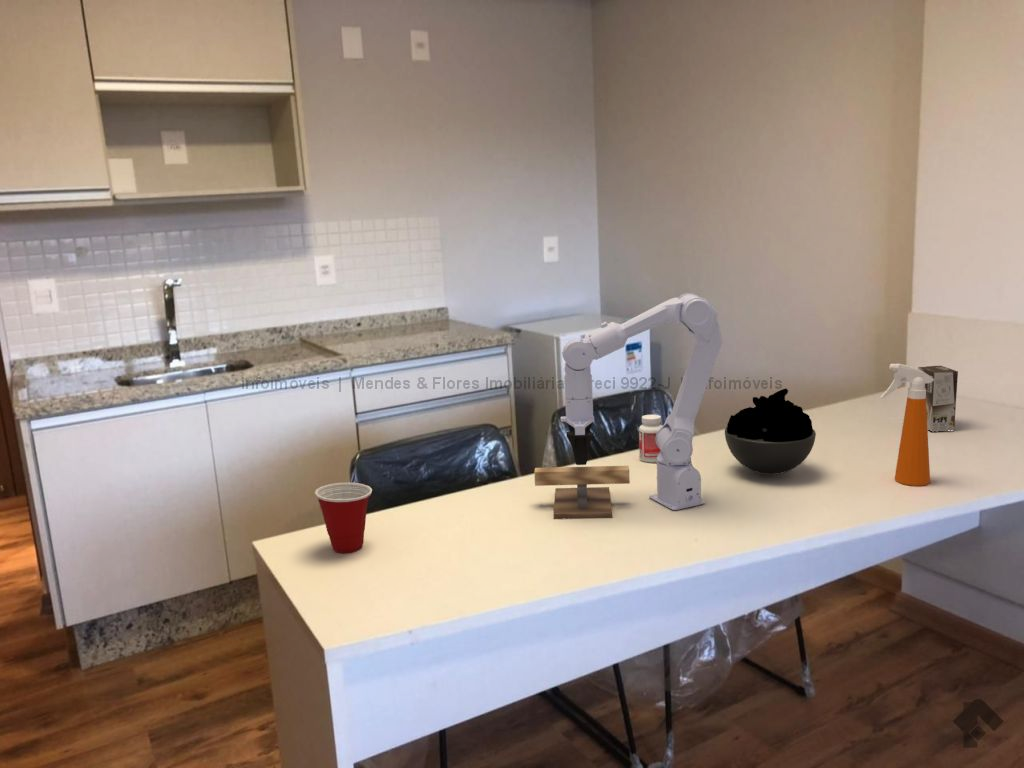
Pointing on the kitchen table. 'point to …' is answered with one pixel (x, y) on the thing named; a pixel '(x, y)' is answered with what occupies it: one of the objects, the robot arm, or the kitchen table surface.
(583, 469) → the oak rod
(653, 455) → the pill bottle
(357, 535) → the plastic cup
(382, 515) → the kitchen table surface
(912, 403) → the spray bottle
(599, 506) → the ridge stand
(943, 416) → the coffee box
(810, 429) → the bowl of black rocks
